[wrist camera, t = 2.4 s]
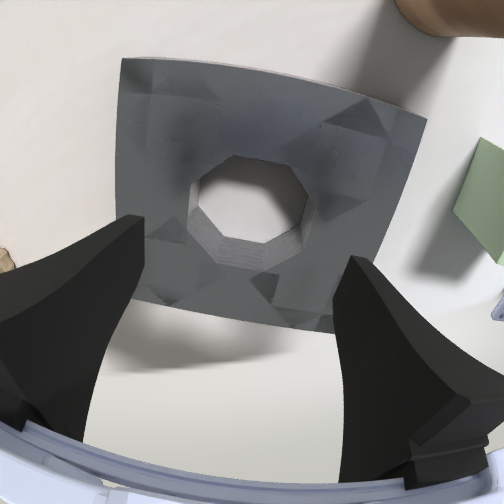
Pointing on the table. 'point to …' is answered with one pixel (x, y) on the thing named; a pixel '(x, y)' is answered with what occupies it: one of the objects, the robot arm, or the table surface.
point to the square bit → (484, 199)
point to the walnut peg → (455, 17)
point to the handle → (5, 261)
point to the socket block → (263, 148)
